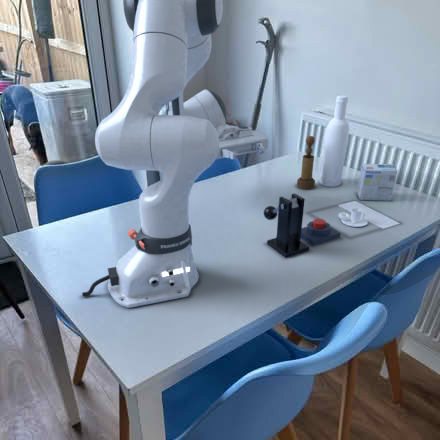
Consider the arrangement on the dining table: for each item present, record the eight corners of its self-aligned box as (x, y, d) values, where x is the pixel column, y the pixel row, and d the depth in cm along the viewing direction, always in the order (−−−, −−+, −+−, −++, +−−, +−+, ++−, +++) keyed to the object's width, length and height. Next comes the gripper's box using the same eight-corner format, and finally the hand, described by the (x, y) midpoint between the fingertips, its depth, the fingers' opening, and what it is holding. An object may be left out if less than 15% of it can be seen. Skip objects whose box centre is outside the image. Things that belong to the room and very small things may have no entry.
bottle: (339, 187, 155) (353, 99, 138) (318, 185, 157) (329, 98, 140) (341, 180, 161) (355, 94, 144) (320, 178, 163) (331, 93, 146)
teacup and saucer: (334, 219, 134) (335, 207, 131) (353, 213, 137) (355, 202, 134) (353, 230, 127) (355, 217, 125) (373, 224, 130) (375, 212, 128)
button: (317, 230, 121) (318, 225, 120) (309, 225, 123) (310, 220, 122) (327, 227, 122) (328, 222, 121) (319, 223, 125) (320, 217, 124)
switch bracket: (266, 244, 121) (269, 195, 113) (289, 237, 124) (293, 189, 116) (285, 258, 115) (289, 207, 106) (309, 250, 118) (315, 200, 109)
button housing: (312, 246, 120) (314, 235, 118) (295, 234, 126) (296, 224, 124) (339, 237, 124) (341, 227, 122) (321, 227, 129) (323, 216, 127)
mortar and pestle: (293, 184, 158) (298, 134, 148) (309, 182, 160) (314, 132, 150) (301, 190, 153) (306, 139, 143) (317, 188, 155) (324, 137, 144)
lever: (263, 222, 123) (259, 209, 123) (274, 219, 125) (270, 206, 125) (290, 212, 110) (286, 197, 110) (302, 208, 112) (298, 194, 111)
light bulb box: (387, 193, 150) (394, 163, 144) (391, 201, 144) (398, 170, 138) (356, 192, 151) (361, 162, 145) (359, 200, 145) (365, 169, 139)
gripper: (196, 135, 127) (217, 148, 117) (254, 125, 135) (278, 137, 125) (196, 156, 131) (217, 170, 121) (253, 145, 139) (277, 158, 129)
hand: (249, 153), depth 123 cm, fingers open, 8 cm apart
